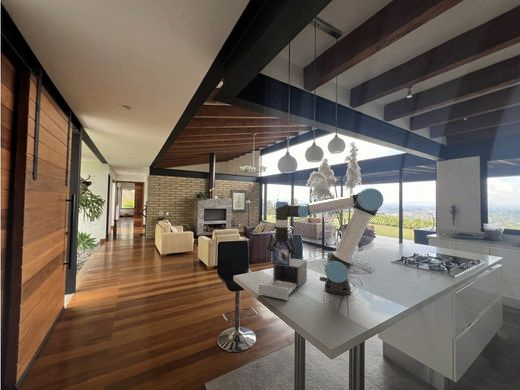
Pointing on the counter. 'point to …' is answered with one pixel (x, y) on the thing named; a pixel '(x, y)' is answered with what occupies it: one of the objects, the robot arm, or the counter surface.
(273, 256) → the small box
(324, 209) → the robot arm
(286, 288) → the grey drawer
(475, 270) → the counter surface
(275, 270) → the housing
